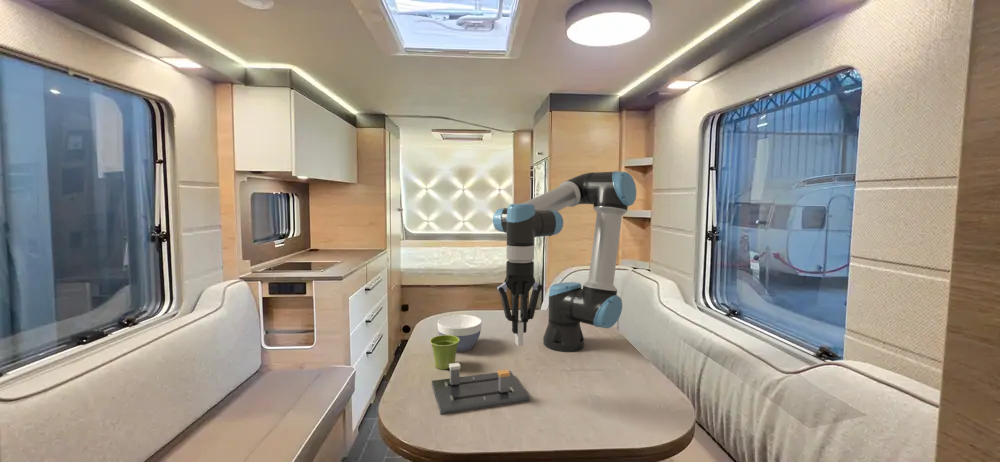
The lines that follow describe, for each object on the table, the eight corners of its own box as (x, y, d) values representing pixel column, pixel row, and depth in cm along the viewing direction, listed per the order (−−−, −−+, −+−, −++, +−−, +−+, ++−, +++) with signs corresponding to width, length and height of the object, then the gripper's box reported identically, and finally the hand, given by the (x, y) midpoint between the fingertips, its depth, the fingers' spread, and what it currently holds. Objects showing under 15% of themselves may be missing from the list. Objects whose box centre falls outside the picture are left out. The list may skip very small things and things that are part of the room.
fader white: (458, 380, 116) (458, 362, 116) (460, 384, 114) (460, 366, 113) (448, 381, 115) (449, 363, 115) (450, 385, 113) (450, 367, 112)
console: (509, 375, 124) (509, 369, 124) (529, 400, 109) (529, 394, 109) (431, 385, 117) (431, 379, 116) (440, 414, 101) (440, 407, 101)
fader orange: (506, 387, 112) (507, 369, 112) (509, 391, 110) (510, 372, 109) (497, 388, 111) (497, 370, 111) (500, 393, 109) (500, 374, 108)
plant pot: (454, 373, 125) (454, 346, 124) (425, 370, 127) (425, 343, 126) (462, 361, 134) (463, 336, 133) (436, 358, 136) (436, 333, 135)
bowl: (489, 344, 149) (490, 319, 149) (463, 359, 136) (463, 331, 135) (456, 336, 158) (456, 312, 157) (428, 348, 145) (428, 322, 144)
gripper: (537, 257, 115) (536, 337, 117) (493, 259, 112) (493, 341, 114) (547, 261, 108) (546, 346, 110) (501, 263, 104) (500, 351, 107)
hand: (519, 344), depth 112 cm, fingers closed
